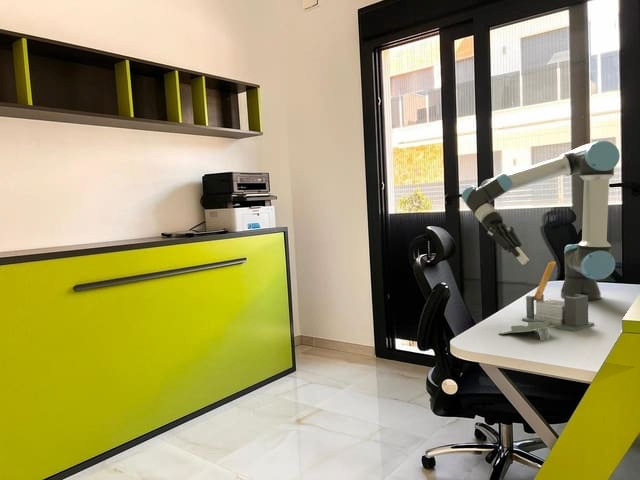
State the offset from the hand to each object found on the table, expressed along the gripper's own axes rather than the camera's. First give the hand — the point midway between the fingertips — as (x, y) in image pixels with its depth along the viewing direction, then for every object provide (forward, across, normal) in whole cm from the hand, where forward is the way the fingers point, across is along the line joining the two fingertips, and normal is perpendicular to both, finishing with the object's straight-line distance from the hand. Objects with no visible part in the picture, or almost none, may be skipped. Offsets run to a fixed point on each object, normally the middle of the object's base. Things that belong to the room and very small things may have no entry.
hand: (525, 262), depth 178 cm
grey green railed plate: (+23, 0, -6) cm, 24 cm away
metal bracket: (+26, +19, -4) cm, 33 cm away
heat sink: (+21, 0, -7) cm, 22 cm away
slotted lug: (+28, 0, 0) cm, 28 cm away
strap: (+10, 0, +1) cm, 10 cm away
